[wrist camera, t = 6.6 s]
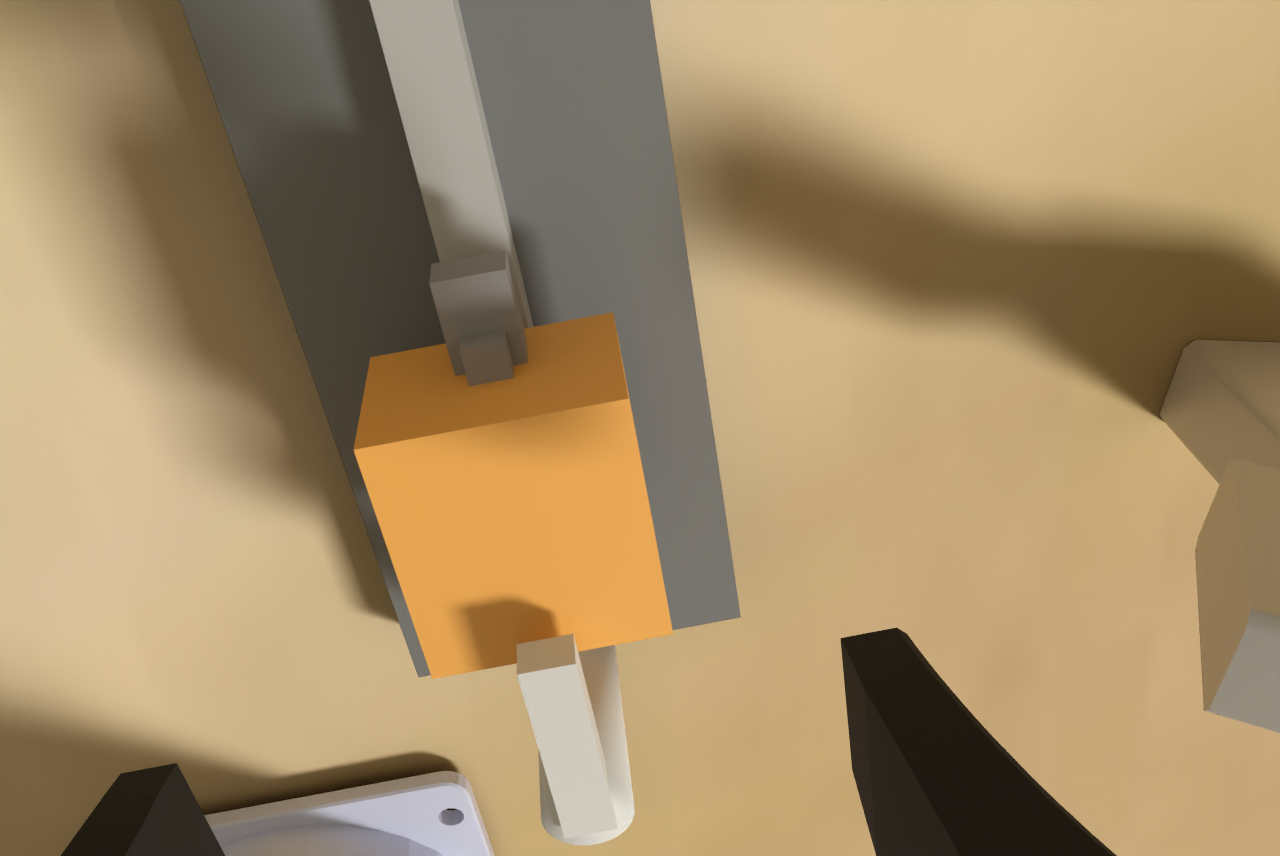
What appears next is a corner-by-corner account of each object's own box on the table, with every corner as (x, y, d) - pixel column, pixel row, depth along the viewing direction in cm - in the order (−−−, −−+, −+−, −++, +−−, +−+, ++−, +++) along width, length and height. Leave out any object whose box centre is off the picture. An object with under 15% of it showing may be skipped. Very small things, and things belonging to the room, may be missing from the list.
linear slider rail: (729, 575, 23) (792, 818, 18) (422, 632, 23) (401, 891, 18) (592, -341, 15) (638, -342, 10) (120, -252, 15) (-60, -211, 10)
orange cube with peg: (654, 532, 19) (672, 633, 17) (439, 572, 19) (432, 678, 17) (596, 221, 16) (609, 299, 14) (341, 268, 16) (320, 353, 14)
